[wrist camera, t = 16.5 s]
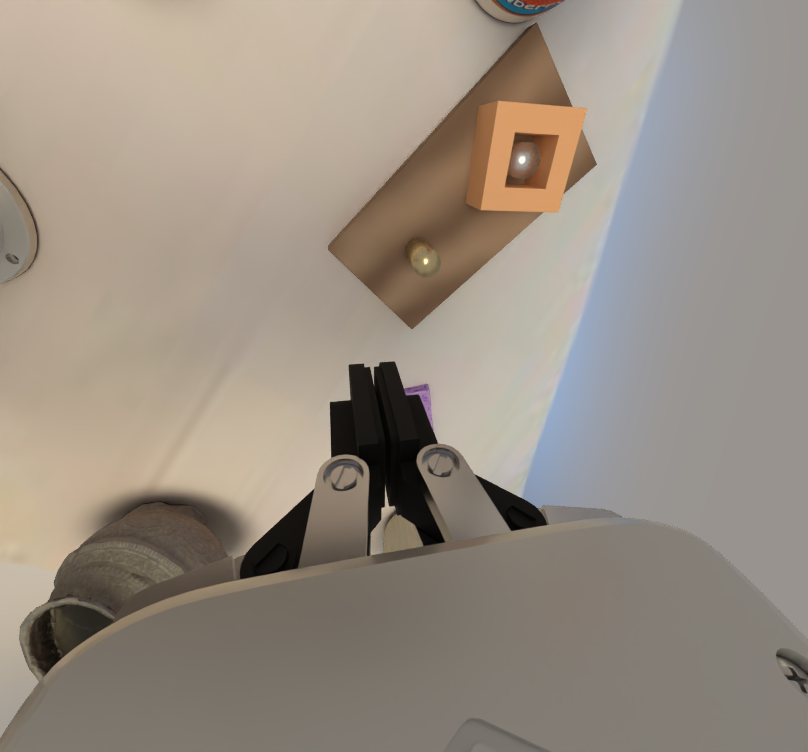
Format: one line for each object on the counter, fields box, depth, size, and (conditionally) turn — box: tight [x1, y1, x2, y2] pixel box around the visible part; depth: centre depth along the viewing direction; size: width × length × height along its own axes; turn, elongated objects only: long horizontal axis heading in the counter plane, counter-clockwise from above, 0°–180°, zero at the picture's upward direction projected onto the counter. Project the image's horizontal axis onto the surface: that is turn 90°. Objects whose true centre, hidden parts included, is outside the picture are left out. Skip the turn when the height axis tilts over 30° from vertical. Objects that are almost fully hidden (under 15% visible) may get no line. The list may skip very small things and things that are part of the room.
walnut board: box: [328, 23, 597, 329], centre depth 32 cm, size 12×23×2 cm, turn 132°
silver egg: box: [507, 142, 541, 179], centre depth 28 cm, size 2×2×3 cm
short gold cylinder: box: [405, 237, 441, 278], centre depth 31 cm, size 2×2×4 cm
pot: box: [19, 502, 228, 682], centre depth 42 cm, size 21×21×25 cm
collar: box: [466, 101, 587, 212], centre depth 28 cm, size 7×7×4 cm
